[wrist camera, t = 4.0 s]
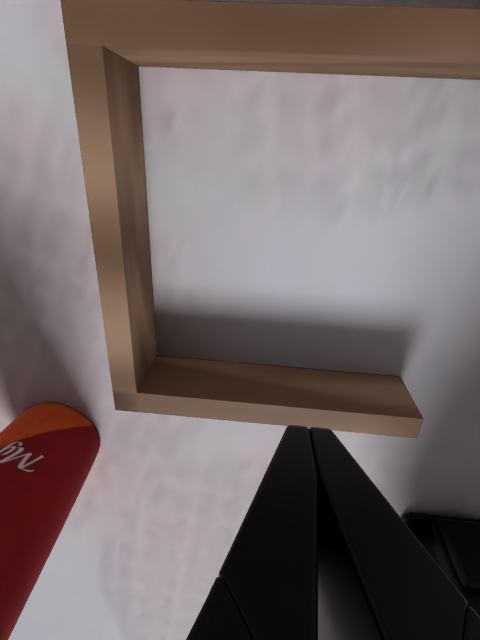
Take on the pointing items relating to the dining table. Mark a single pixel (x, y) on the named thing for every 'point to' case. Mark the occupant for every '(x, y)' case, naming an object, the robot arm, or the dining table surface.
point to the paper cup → (38, 494)
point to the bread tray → (131, 199)
